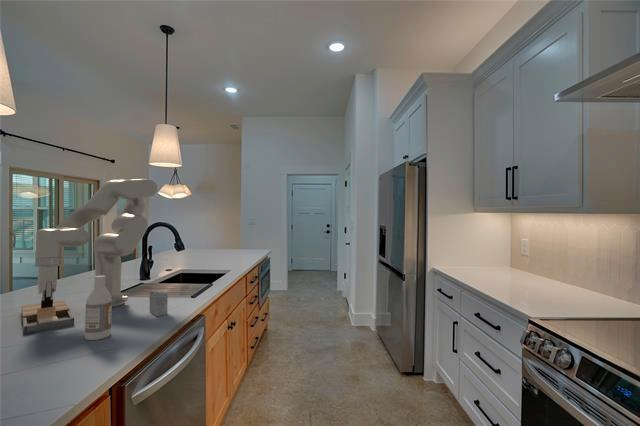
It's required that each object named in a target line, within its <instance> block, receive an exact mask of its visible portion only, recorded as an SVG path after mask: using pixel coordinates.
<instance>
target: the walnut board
mask: <svg viewBox="0 0 640 426" xmlns="http://www.w3.org/2000/svg"><path fill="white" fill-rule="evenodd" d="M53 307H56V316H57V317H62V316H67V311H69V310H70V307H69V306H68V303H67V302H66V300H65V299H63V300H56V301H54V300H53ZM37 309H41V302H40V303H34V304H26V305H21V322H22V323H21V324H23V318H25V317H26V319H27V322H32V321H37ZM70 311H71V310H70Z"/></svg>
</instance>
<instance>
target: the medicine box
mask: <svg viewBox="0 0 640 426" xmlns="http://www.w3.org/2000/svg"><path fill="white" fill-rule="evenodd" d="M168 299H169V298H168V293H167V292H165V291H163V290H161V289H160V290H159V289H157V290H152V291H149V307H148V308H149V311H148V312H149V313H150V314H152V315H154V317H160V316H165V315H168V302H169V301H168Z"/></svg>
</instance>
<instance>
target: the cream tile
mask: <svg viewBox="0 0 640 426" xmlns="http://www.w3.org/2000/svg"><path fill="white" fill-rule="evenodd" d="M57 320H58V318H57V316H55V317H49V318H43V319H38V324H40V323H46V322H51V321H57Z"/></svg>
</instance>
